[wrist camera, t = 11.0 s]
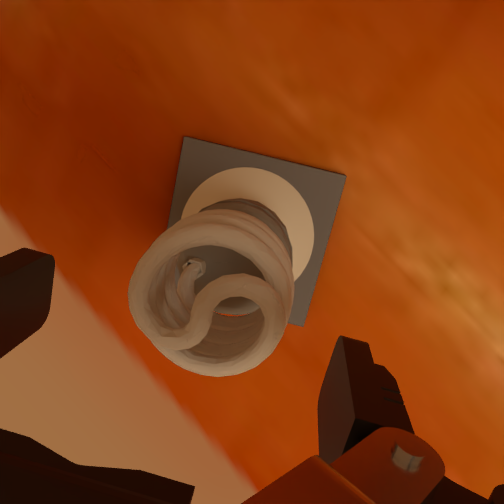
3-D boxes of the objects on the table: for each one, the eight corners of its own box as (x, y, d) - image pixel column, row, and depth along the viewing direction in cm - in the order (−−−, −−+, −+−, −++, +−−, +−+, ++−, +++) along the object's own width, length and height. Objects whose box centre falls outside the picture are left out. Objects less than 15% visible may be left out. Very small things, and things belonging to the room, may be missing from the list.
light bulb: (216, 295, 26) (147, 419, 15) (183, 204, 25) (80, 259, 13) (309, 269, 25) (315, 380, 14) (280, 173, 24) (258, 204, 12)
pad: (187, 136, 25) (183, 136, 24) (345, 174, 25) (346, 176, 24) (160, 284, 27) (155, 289, 26) (303, 321, 27) (303, 327, 26)
